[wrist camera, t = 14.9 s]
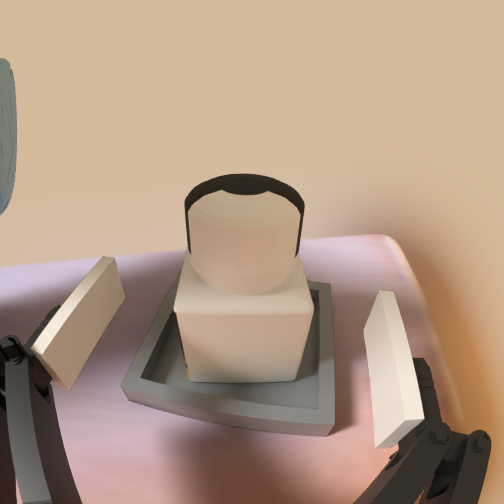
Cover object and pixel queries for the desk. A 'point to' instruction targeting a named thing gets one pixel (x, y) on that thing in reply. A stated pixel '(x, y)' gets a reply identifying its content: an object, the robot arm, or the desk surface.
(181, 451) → the desk surface
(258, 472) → the desk surface
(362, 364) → the desk surface
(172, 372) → the bottle tray
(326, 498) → the desk surface
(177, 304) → the medicine bottle
